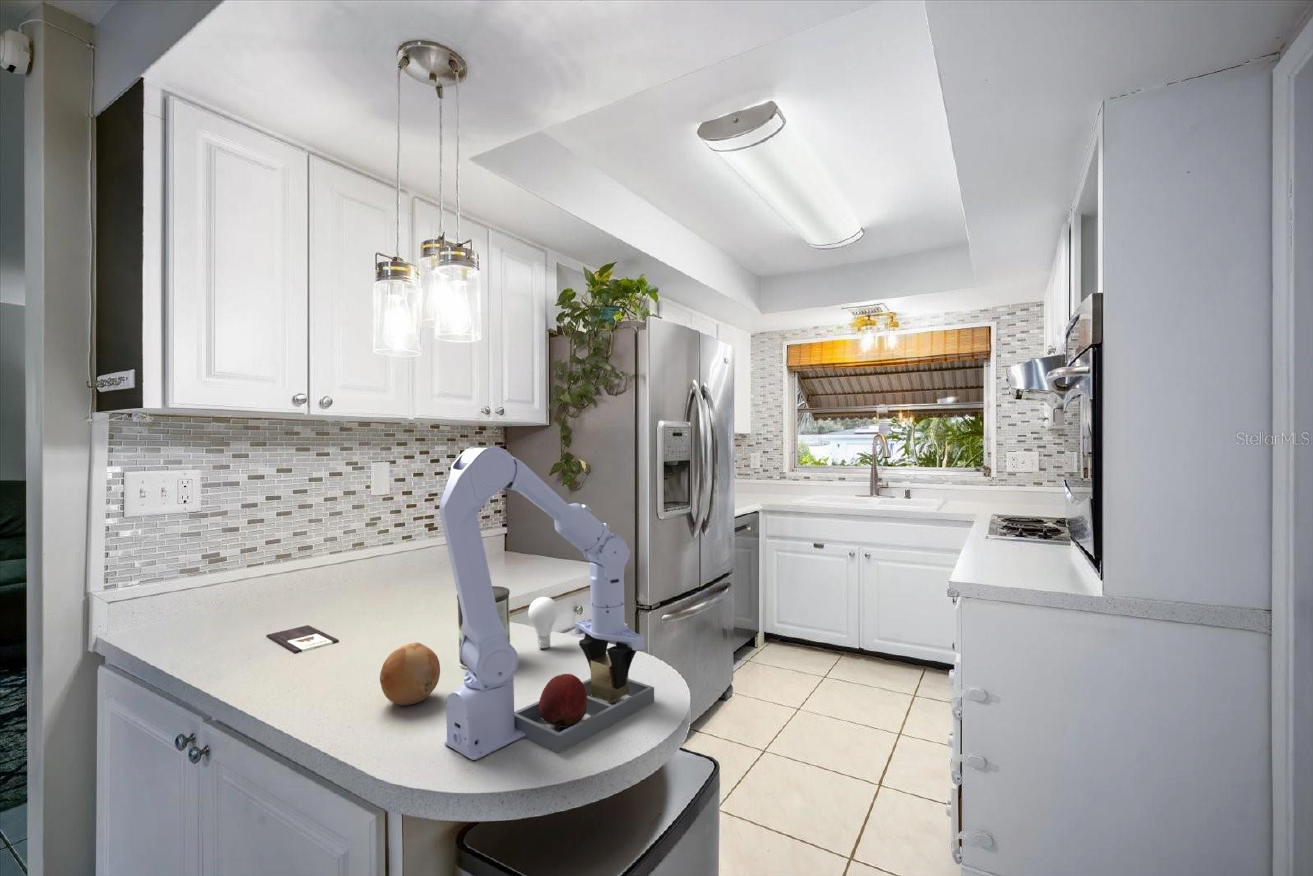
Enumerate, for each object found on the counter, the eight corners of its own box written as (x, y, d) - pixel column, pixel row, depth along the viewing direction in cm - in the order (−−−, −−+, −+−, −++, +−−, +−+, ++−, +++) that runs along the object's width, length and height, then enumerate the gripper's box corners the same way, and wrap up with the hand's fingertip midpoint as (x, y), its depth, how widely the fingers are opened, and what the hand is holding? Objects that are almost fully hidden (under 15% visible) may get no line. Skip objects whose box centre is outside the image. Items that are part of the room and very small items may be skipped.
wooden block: (610, 703, 100) (609, 666, 100) (591, 695, 103) (590, 660, 103) (628, 693, 104) (628, 658, 104) (609, 687, 107) (609, 652, 106)
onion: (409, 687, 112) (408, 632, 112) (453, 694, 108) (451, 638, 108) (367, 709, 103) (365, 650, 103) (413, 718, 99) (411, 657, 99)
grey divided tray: (559, 753, 87) (558, 736, 87) (510, 730, 95) (510, 713, 95) (654, 701, 103) (654, 687, 103) (606, 685, 111) (606, 671, 111)
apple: (598, 722, 97) (597, 672, 97) (564, 743, 90) (563, 689, 90) (563, 711, 101) (562, 662, 101) (529, 730, 94) (527, 679, 94)
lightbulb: (555, 641, 135) (554, 592, 135) (562, 651, 129) (560, 599, 129) (526, 645, 132) (525, 595, 132) (531, 655, 126) (530, 602, 126)
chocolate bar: (308, 625, 149) (338, 640, 138) (308, 629, 149) (338, 644, 138) (266, 634, 143) (295, 651, 131) (266, 638, 143) (295, 655, 131)
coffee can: (448, 663, 123) (446, 593, 123) (491, 648, 131) (489, 583, 131) (478, 675, 117) (476, 602, 117) (521, 659, 125) (520, 590, 125)
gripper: (655, 604, 102) (657, 686, 102) (594, 591, 111) (596, 666, 111) (626, 615, 96) (628, 700, 96) (565, 600, 105) (567, 678, 106)
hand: (609, 683), depth 103 cm, fingers closed on wooden block, 4 cm apart
